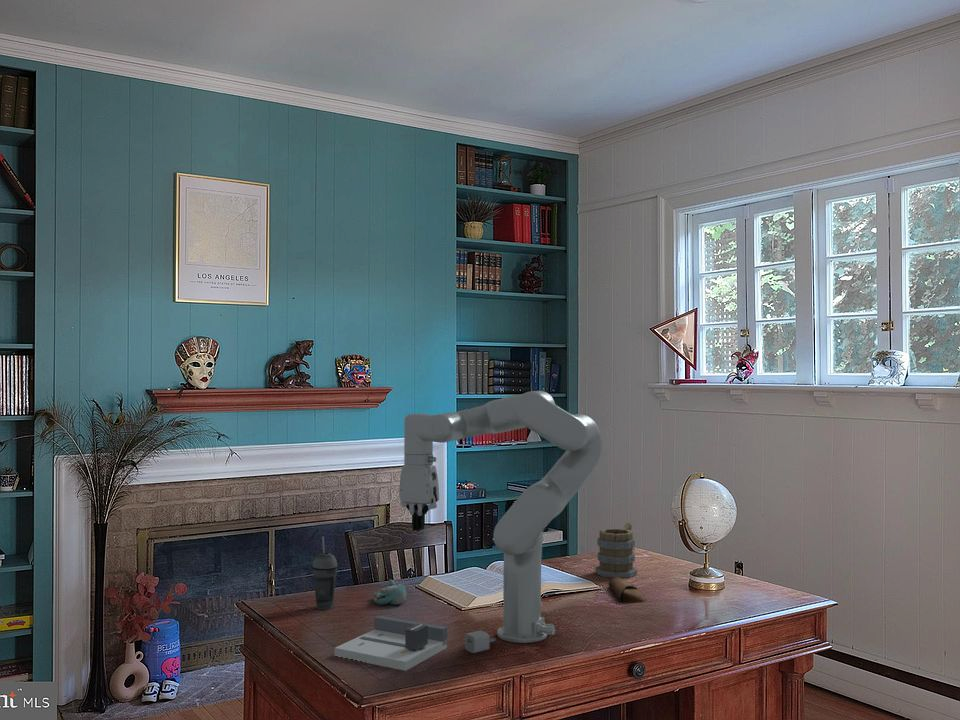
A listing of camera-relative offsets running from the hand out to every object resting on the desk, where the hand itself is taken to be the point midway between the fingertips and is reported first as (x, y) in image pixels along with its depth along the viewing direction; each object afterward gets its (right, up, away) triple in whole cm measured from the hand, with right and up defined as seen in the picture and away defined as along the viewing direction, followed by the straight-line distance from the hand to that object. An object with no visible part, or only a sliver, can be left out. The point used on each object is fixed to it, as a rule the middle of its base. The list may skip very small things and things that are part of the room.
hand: (418, 529), depth 223 cm
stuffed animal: (-10, -26, +22) cm, 35 cm away
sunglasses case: (+61, -26, +30) cm, 73 cm away
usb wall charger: (+17, -25, -19) cm, 36 cm away
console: (-5, -25, -22) cm, 33 cm away
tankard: (+63, -26, +60) cm, 91 cm away
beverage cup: (-28, -26, +16) cm, 41 cm away
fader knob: (+1, -22, -25) cm, 34 cm away
